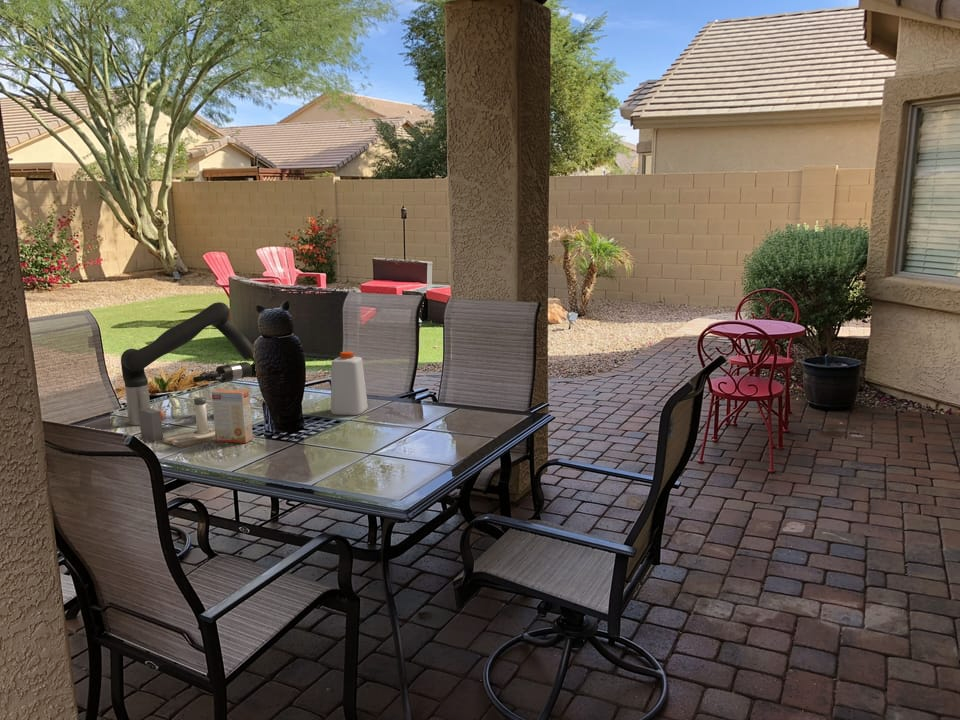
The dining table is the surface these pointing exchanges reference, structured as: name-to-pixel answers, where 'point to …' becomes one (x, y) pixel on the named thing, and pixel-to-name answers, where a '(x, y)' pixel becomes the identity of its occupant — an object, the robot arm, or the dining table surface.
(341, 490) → the dining table surface
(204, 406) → the white shaker grey cap
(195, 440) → the beige board with ring
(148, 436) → the button panel
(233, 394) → the cracker box
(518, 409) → the dining table surface
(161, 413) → the button
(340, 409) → the plastic bottle
